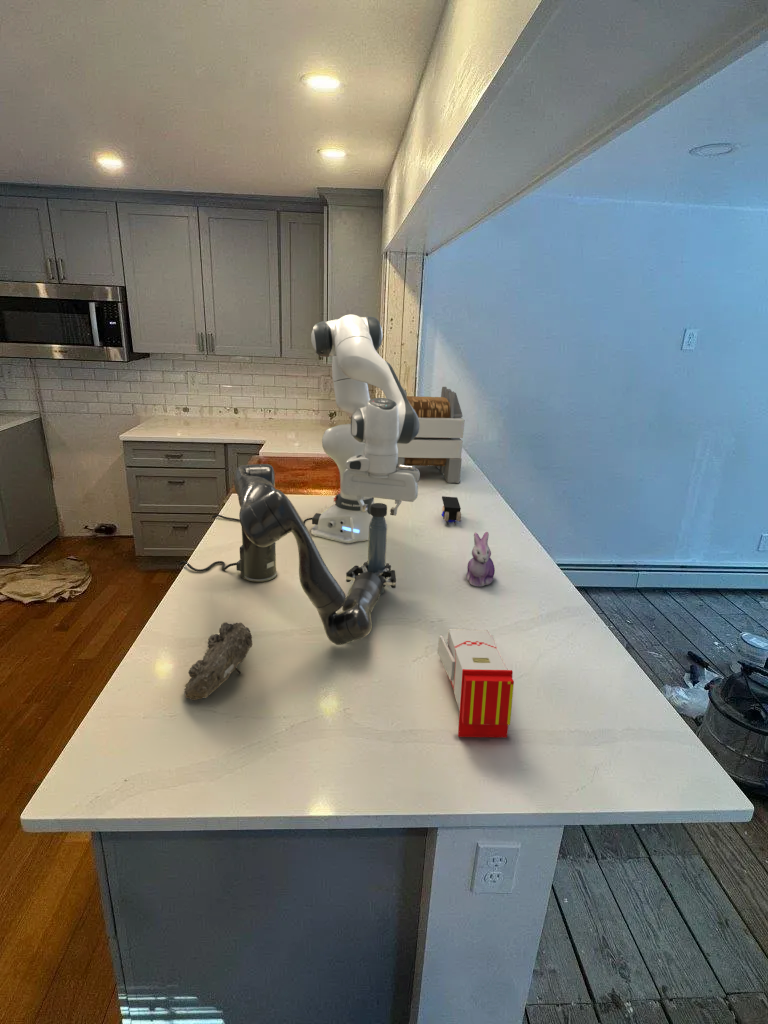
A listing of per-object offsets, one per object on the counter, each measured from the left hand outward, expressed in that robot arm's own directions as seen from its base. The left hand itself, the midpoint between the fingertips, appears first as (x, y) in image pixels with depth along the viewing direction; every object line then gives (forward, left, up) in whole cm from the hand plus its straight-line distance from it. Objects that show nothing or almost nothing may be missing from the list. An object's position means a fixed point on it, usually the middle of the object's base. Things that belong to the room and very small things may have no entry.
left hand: (378, 565), depth 159 cm
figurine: (+29, +12, -7) cm, 32 cm away
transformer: (-4, +122, -7) cm, 122 cm away
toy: (+28, -41, -7) cm, 51 cm away
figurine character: (+16, +60, -7) cm, 63 cm away
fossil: (-24, -48, -7) cm, 54 cm away
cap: (0, -3, +18) cm, 18 cm away
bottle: (0, -3, -7) cm, 7 cm away
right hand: (0, -3, +16) cm, 17 cm away
